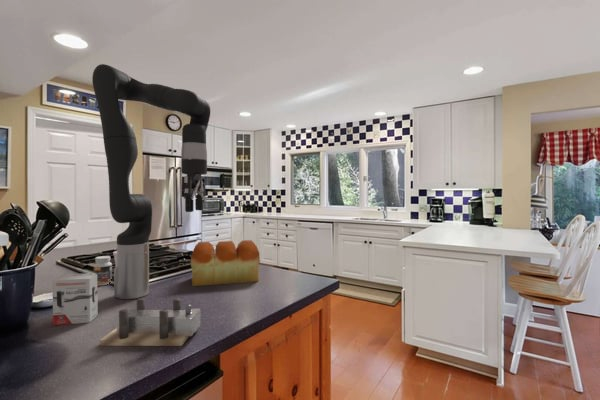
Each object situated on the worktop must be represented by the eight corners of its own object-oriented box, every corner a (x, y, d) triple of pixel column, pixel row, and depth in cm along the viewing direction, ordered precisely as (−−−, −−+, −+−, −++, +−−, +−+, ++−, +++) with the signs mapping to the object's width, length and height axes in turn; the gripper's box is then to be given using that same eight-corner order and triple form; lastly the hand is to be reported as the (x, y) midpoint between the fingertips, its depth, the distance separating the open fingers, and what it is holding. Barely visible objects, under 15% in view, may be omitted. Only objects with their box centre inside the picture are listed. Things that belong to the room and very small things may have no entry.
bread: (255, 273, 127) (255, 238, 127) (259, 281, 115) (259, 243, 115) (193, 277, 121) (193, 240, 120) (190, 286, 109) (190, 246, 108)
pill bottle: (92, 287, 107) (92, 259, 107) (94, 282, 112) (94, 256, 112) (111, 284, 110) (111, 257, 110) (112, 280, 115) (112, 255, 115)
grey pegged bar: (114, 335, 68) (113, 309, 68) (129, 324, 74) (128, 300, 74) (191, 336, 68) (191, 309, 68) (200, 324, 74) (200, 300, 74)
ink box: (51, 326, 76) (51, 279, 76) (62, 318, 81) (62, 274, 80) (90, 322, 78) (89, 277, 78) (98, 315, 83) (98, 272, 82)
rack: (99, 345, 66) (99, 313, 66) (126, 325, 76) (126, 297, 76) (181, 345, 66) (181, 313, 66) (197, 326, 76) (197, 297, 76)
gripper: (190, 161, 100) (190, 209, 101) (172, 155, 86) (172, 212, 86) (213, 161, 100) (213, 209, 101) (198, 156, 86) (198, 212, 86)
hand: (194, 211), depth 94 cm, fingers open, 8 cm apart
